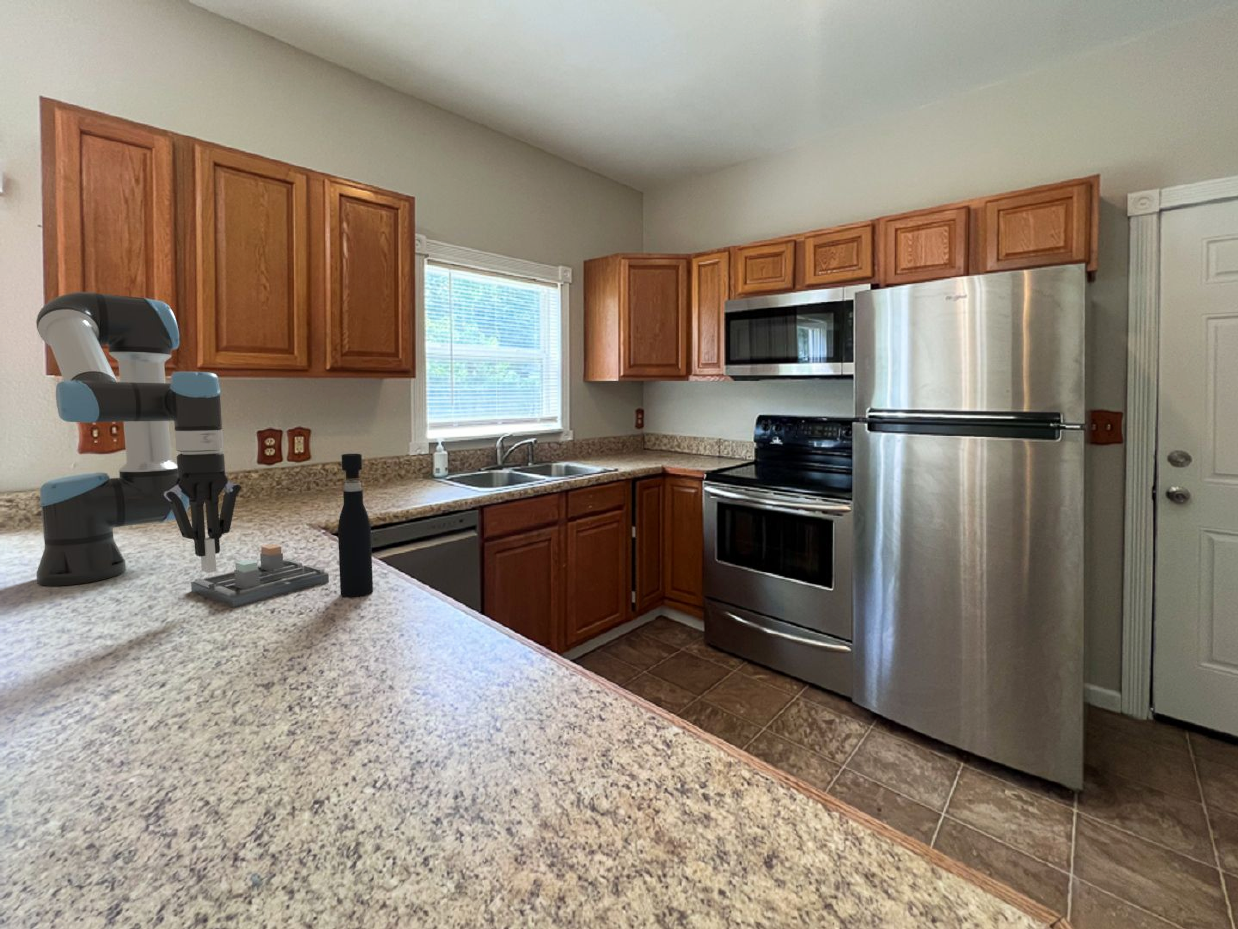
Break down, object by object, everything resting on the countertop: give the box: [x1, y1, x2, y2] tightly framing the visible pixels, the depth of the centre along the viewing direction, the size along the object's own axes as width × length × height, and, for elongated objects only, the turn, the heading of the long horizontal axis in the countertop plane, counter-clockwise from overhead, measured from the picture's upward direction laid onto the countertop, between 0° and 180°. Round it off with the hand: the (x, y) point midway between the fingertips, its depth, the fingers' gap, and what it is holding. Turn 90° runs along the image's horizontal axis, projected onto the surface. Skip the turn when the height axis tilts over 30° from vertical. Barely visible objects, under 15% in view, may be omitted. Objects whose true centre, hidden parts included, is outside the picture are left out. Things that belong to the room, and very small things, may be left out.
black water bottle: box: [337, 453, 374, 599], centre depth 124 cm, size 6×6×30 cm
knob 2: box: [259, 544, 284, 571], centre depth 135 cm, size 4×3×5 cm
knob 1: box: [233, 559, 260, 589], centre depth 122 cm, size 4×3×5 cm
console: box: [190, 558, 330, 609], centre depth 129 cm, size 18×20×3 cm
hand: (209, 570), depth 115 cm, fingers closed
